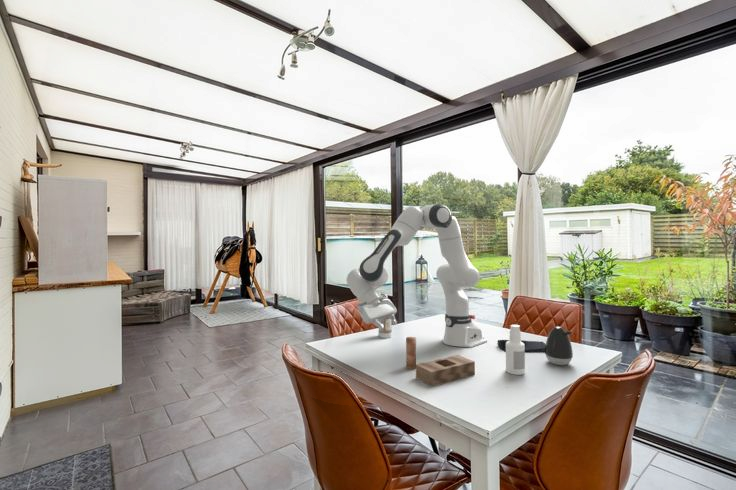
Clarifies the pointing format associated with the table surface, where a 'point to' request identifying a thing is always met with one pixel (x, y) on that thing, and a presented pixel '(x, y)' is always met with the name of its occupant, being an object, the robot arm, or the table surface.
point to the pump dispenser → (558, 347)
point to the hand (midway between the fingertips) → (389, 326)
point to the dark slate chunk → (529, 345)
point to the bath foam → (386, 328)
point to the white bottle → (515, 352)
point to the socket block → (445, 370)
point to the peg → (411, 353)
